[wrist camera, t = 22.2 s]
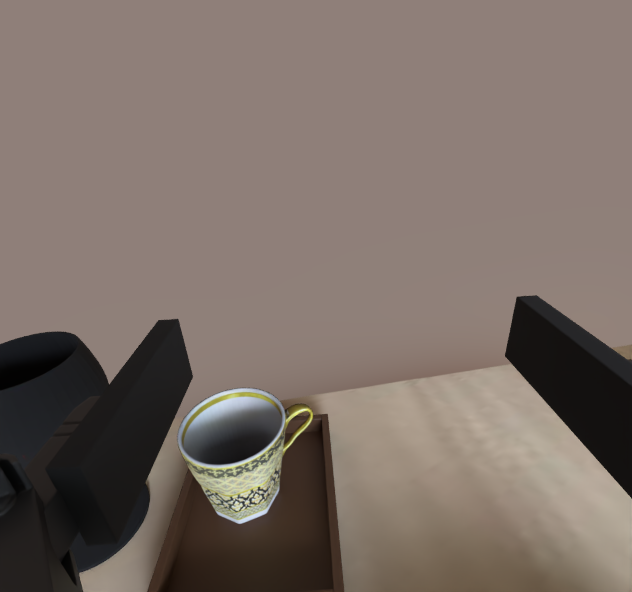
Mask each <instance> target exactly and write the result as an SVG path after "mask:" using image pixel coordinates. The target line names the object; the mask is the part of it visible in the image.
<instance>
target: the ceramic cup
mask: <svg viewBox="0 0 632 592" xmlns="http://www.w3.org/2000/svg"><path fill="white" fill-rule="evenodd" d="M304 411H308V412H309V416H308V418H307V419H306V421H305V422H304V423H303V424H302V425H301V426H300V427H299V428H298V429H297V430H296V431H295V432H294V433H293V434H292V435H291V437H290V438H289V440H288V441H287V442H285V443H284V438H285V430H286V427H287V425H288V422H289V421H290V420H291V419H292V418H293V417H295V416H296V415H298V414H299V413H301V412H304ZM312 419H313V412H312V410H311V408H310V407H309V406H308V405H306V404H295V405H292V406H290V407H289V408H287V409H286V410H284V407H283V405H282V403H281V402H280V401H279V400H278V399H277V398H276V397H275V396H274V395H272V394H270V393H269V392H266V391H263V390H260V389H255V388H236V389H230V390H226V391H222V392H219V393H217V394H214V395H212V396H210V397H208V398H206V399H205V400H203V401H201V402H200V403H199V404H197V405H196V406H195V407H194V408H193V409H192V410H191V411H190V412H189V413H188V414H187V415H186V416H185V418H184V419H183V421H182V423H181V425H180V427H179V430H178V435H177V442H178V447H179V450H180V452H181V454H182V456H183V458H184V460H185V462H186V464H187V466H188V467H189V469H190V471H191V472H192V474H193V476H194V477H195V479H196V480H197V481H198V482H199V484H200V485H201V487H202V489H203V491H204V492H205V494H206V496H207V497H208V499H209V501H210V502H211V504H212V506H213V507H214V509H215V511H216V512H217V514H218V515H220V516H222V517H225V518H227V519H229V520H231V521H234V522H236V523H238V524H242V523H245V522H247V521H249V520H252V519H254V518H257V517H259V516H262V515H264V514H266V513H267V511H268V510H269V508H270V506H271V504H272V502H273V501H274V499H275V497H276V495H277V494H278V492H279V484H280V473H281V464H282V457H283V455H284V453H285V451H286V449H287V448H288V447H289V446H290V445H291V444H292V443H293V441H294V440H295V439H296V437H297V436H298V435H299V434H300V433H301V432H302V431H303V430H304V429H306V427H307V426H308V425H309V424H310V423H311V421H312Z"/></svg>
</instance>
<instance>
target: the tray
mask: <svg viewBox="0 0 632 592" xmlns="http://www.w3.org/2000/svg"><path fill="white" fill-rule="evenodd" d="M308 416H309V415H307V416H295V417H293V418H292V419H291V420H290V421H289V422H288V425H287V427H286V430H285V438H284V443H285V442H287V441H288V440H289V438H290V437H291V435H292V434H293V433H294V432H295V431H296V430H297V429H298V428H299V427H300V426H301V425H302V424H303V423H304V422H305V421H306V419H307V418H308ZM147 592H344V585H343V574H342V563H341V552H340V541H339V531H338V520H337V509H336V498H335V487H334V476H333V466H332V455H331V444H330V433H329V422H328V414H322V415H313V419H312V421H311V423H310V424H309V425H308V426H307V427H306V429H304V430H303V431H302V432H301V433H300V434H299V435H298V436H297V437H296V439H295V440H294V441H293V443H292V444H291V445H290V446H289V447H288V448H287V449H286V451H285V453H284V455H283V457H282V464H281V473H280V484H279V492H278V494H277V495H276V497H275V499H274V501H273V502H272V504H271V506H270V508H269V510H268V511H267V513H266V514H264V515H262V516H259V517H257V518H254V519H252V520H249V521H247V522H245V523H242V524H238V523H236V522H234V521H231V520H229V519H227V518H225V517H222V516H220V515H218V514H217V512H216V511H215V509H214V507H213V506H212V504H211V502H210V501H209V499H208V497H207V496H206V494H205V492H204V491H203V489H202V487H201V485H200V484H199V482H198V481H197V480H196V479H195V477H194V476H193V474H192V472H191V471H190V469H188V472H187V475H186V478H185V481H184V484H183V487H182V490H181V493H180V496H179V499H178V502H177V505H176V508H175V511H174V514H173V517H172V520H171V523H170V526H169V529H168V532H167V535H166V538H165V541H164V544H163V547H162V550H161V553H160V556H159V559H158V562H157V565H156V568H155V570H154V573H153V576H152V579H151V582H150V585H149V588H148V591H147Z"/></svg>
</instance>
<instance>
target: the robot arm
mask: <svg viewBox="0 0 632 592" xmlns="http://www.w3.org/2000/svg"><path fill="white" fill-rule="evenodd" d="M505 357H506V358H507V359H508V360H509V361H510V362H511V363H512V365H513V366H514V367H515V368H516V369H517V370H518V371H519V372H520V373H521V375H522V376H523V377H524V378H525V379H526V380H527V381H528V382H529V384H530V385H531V386H532V387H533V388H534V389H535V390H536V391H537V393H538V394H539V395H540V396H541V397H542V398H543V399H544V400H545V402H546V403H547V404H548V405H549V406H550V407H551V408H552V409H553V411H554V412H555V413H556V414H557V415H558V416H559V417H560V418H561V419H562V421H563V422H564V423H565V424H566V425H567V426H568V427H569V428H570V430H571V431H572V432H573V433H574V434H575V435H576V436H577V437H578V439H579V440H580V441H581V442H582V443H583V444H584V445H585V446H586V448H587V449H588V450H589V451H590V452H591V453H592V454H593V455H594V456H595V458H596V459H597V460H598V461H599V462H600V463H601V464H602V465H603V467H604V468H605V469H606V470H607V471H608V472H609V473H610V474H611V476H612V477H613V478H614V479H615V480H616V481H617V482H618V483H619V485H620V486H621V487H622V488H623V489H624V490H625V491H626V492H627V494H628V495H629V496H630V497H631V498H632V360H627V359H625V358H624V357H623V356H621V355H620V354H618V353H617V352H616V351H614V350H613V349H611V348H610V347H608V346H607V345H606V344H604V343H603V342H601V341H600V340H599V339H597V338H596V337H594V336H593V335H592V334H590V333H589V332H587V331H586V330H584V329H583V328H582V327H580V326H579V325H577V324H576V323H575V322H573V321H572V320H570V319H569V318H568V317H566V316H565V315H563V314H562V313H561V312H559V311H558V310H556V309H555V308H553V307H552V306H551V305H549V304H548V303H546V302H545V301H543V300H542V299H540V298H539V297H538V296H521V297H517V298H516V304H515V309H514V313H513V319H512V323H511V328H510V333H509V338H508V343H507V348H506V353H505ZM192 378H193V375H192V371H191V367H190V363H189V359H188V355H187V351H186V347H185V343H184V339H183V336H182V332H181V328H180V324H179V320H178V319H172V320H158V322H157V323H156V324H155V326H154V327H153V328H152V330H151V331H150V332H149V333H148V335H147V336H146V337H145V339H144V340H143V341H142V343H141V344H140V345H139V346H138V348H137V349H136V350H135V352H134V353H133V354H132V356H131V357H130V358H129V360H128V361H127V362H126V363H125V365H124V366H123V367H122V369H121V370H120V371H119V373H118V374H117V375H116V377H115V378H114V379H113V381H112V382H111V383H110V384H109V386H108V387H107V388H106V390H105V391H104V392H103V393H102V395H101V396H91V397H89V398H88V399H86V400H85V401H84V402H82V403H81V404H80V405H78V406H77V407H76V408H74V409H73V411H72V412H71V413H70V414H69V415H68V417H67V418H66V419H65V420H64V421H63V424H62V425H60V426H59V427H58V429H57V430H56V431H55V432H54V433H53V437H50V438H49V440H48V441H47V442H46V443H45V444H44V446H43V447H42V448H41V449H40V450H39V452H38V453H37V454H36V455H35V456H34V458H33V459H32V460H31V461H30V463H29V464H28V465H27V466H26V467H25V469H23V467H22V466H21V464H20V462H19V460H18V459H17V458H16V456H15V455H12V454H7V453H5V454H0V592H83V589H82V585H81V581H80V577H79V573H78V569H77V565H76V561H75V557H74V555H73V553H72V551H71V549H70V547H71V545H72V543H73V541H74V539H75V538H76V536H77V534H78V532H80V534H81V536H82V538H83V540H84V541H85V543H86V545H87V546H93V545H108V544H118V542H119V540H120V537H121V535H122V533H123V531H124V529H125V526H126V524H127V522H128V520H129V518H130V515H131V513H132V511H133V509H134V506H135V504H136V502H137V500H138V498H139V495H140V493H141V491H142V489H143V486H144V484H145V482H146V480H147V478H148V475H149V473H150V471H151V469H152V466H153V464H154V462H155V460H156V458H157V455H158V453H159V451H160V449H161V447H162V444H163V442H164V440H165V438H166V435H167V433H168V431H169V429H170V427H171V424H172V422H173V420H174V418H175V415H176V413H177V411H178V409H179V407H180V404H181V402H182V400H183V397H184V395H185V393H186V391H187V389H188V387H189V384H190V382H191V380H192Z"/></svg>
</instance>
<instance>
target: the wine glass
mask: <svg viewBox="0 0 632 592" xmlns="http://www.w3.org/2000/svg"><path fill="white" fill-rule="evenodd" d="M108 386H109V383H108V380H107V377H106V375H105V373H104V371H103V369H102V367H101V365H100V364H99V362H98V361H97V360H96V358H95V357H94V355H93V354H92V353H91V351H90V350H89V349H88V348H87V347H86V345H85V344H84V343H83V342H82V341H81V340H80V339H79V338H78V337H77V336H76V335H74V334H71V333H67V332H45V333H39V334H33V335H29V336H24V337H21V338H17V339H14V340H11V341H8V342H5V343H3V344H0V454H5V453H7V454H12V455H15V456H16V458H17V459H18V460H19V462H20V464H21V466H22V467H23V469H25V467H26V466H27V465H28V464H29V463H30V461H31V460H32V459H33V458H34V456H35V455H36V454H37V453H38V452H39V450H40V449H41V448H42V447H43V446H44V444H45V443H46V442H47V441H48V440H49V438H50V437H53V433H54V432H55V431H56V430H57V429H58V427H59V426H60V425H62V424H63V421H64V420H65V419H66V418H67V417H68V415H69V414H70V413H71V412H72V411H73V409H74V408H76V407H77V406H78V405H80V404H81V403H82V402H84V401H85V400H86V399H88V398H89V397H91V396H101V395H102V393H103V392H104V391H105V390H106V388H107V387H108ZM149 500H150V499H149V491H148V488H147V486H146V484H144V486H143V489H142V491H141V493H140V495H139V498H138V500H137V502H136V504H135V506H134V509H133V511H132V513H131V515H130V518H129V520H128V522H127V524H126V526H125V529H124V531H123V533H122V535H121V537H120V540H119V542H118V544H108V545H93V546H87V545H86V543H85V541H84V540H83V538H82V536H81V534H80V532H78V534H77V536H76V538H75V539H74V541H73V543H72V545H71V547H70V549H71V551H72V553H73V555H74V557H75V561H76V565H77V569H78V573H80V572H83V571H86V570H89V569H91V568H93V567H95V566H97V565H99V564H101V563H102V562H104V561H106V560H107V559H109V558H110V557H111V556H113V555H114V554H116V553H117V552H118V551H119V550H120V549H121V548H122V547H124V546H125V545H126V544H127V543H128V541H129V540H130V539H131V538H132V537H133V536H134V534H135V533H136V532H137V531H138V529H139V527H140V526H141V524H142V522H143V521H144V518H145V516H146V514H147V511H148V507H149Z"/></svg>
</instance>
